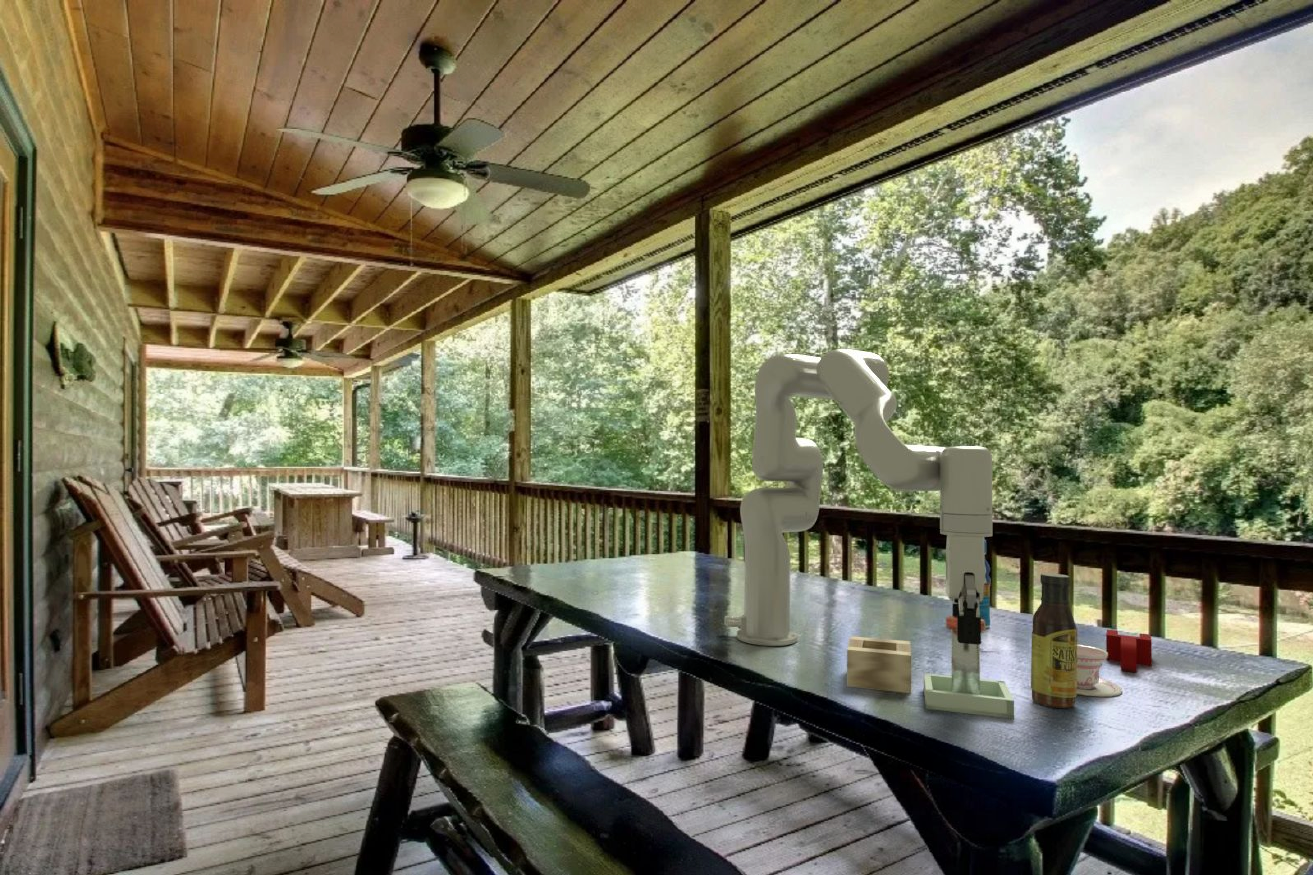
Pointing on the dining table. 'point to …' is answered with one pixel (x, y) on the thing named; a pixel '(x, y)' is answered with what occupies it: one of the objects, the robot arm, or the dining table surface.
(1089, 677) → the teacup
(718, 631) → the dining table surface
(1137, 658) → the mechanical linkage
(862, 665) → the socket block
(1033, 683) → the sauce bottle
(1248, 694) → the dining table surface
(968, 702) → the tray
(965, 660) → the pin
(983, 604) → the beverage bottle
